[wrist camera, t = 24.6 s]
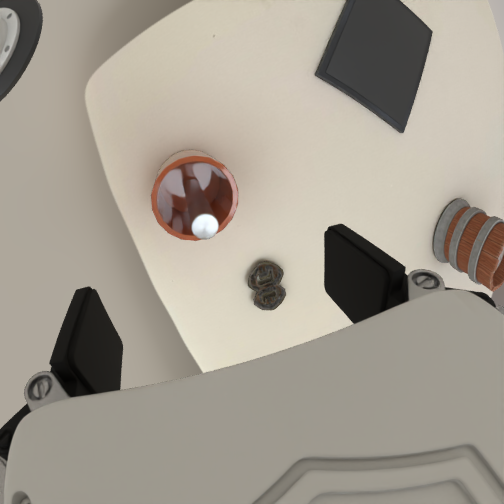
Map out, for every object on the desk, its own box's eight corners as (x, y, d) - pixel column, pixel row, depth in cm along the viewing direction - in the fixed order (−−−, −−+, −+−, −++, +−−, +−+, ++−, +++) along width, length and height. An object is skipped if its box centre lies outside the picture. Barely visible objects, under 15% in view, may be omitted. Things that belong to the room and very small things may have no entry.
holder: (148, 205, 31) (141, 228, 24) (169, 140, 28) (167, 144, 21) (209, 222, 33) (220, 249, 26) (232, 161, 31) (250, 171, 24)
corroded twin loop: (254, 311, 41) (256, 315, 40) (242, 265, 37) (243, 269, 36) (286, 300, 41) (289, 304, 40) (278, 253, 38) (280, 257, 37)
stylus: (181, 190, 30) (188, 235, 18) (186, 175, 30) (196, 210, 18) (196, 195, 31) (213, 242, 19) (201, 180, 30) (222, 218, 18)
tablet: (314, 75, 29) (317, 74, 28) (358, -28, 22) (362, -30, 21) (399, 132, 35) (403, 133, 34) (429, 32, 28) (433, 31, 27)
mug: (435, 204, 43) (500, 235, 29) (482, 190, 46) (533, 213, 33) (427, 269, 49) (479, 308, 36) (474, 245, 52) (519, 273, 39)
